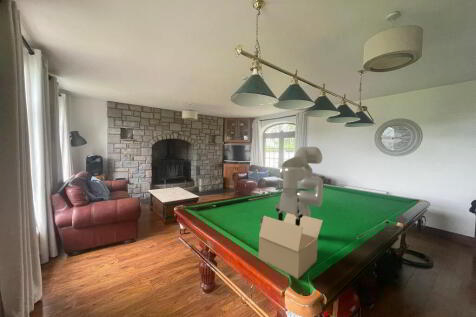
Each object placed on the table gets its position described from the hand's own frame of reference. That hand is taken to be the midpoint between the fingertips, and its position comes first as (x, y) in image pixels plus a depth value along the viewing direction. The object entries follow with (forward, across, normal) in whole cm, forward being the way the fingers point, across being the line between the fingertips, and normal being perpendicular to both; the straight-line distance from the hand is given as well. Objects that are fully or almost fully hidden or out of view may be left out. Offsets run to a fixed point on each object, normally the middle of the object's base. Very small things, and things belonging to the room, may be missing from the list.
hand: (288, 223), depth 96 cm
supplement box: (+20, +18, -8) cm, 28 cm away
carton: (+19, 0, 0) cm, 19 cm away
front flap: (+2, 0, +9) cm, 9 cm away
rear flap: (+3, 0, -15) cm, 15 cm away
